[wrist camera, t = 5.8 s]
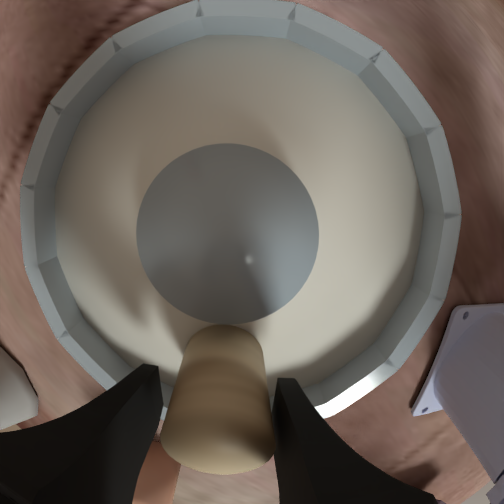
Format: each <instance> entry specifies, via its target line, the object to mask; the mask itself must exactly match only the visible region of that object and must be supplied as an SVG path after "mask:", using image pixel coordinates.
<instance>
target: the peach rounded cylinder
mask: <svg viewBox="0 0 504 504" xmlns="http://www.w3.org/2000/svg"><path fill="white" fill-rule="evenodd" d="M180 466H181V464H180V463H179V462H177V461H175V460H174V459H173V458H172V457H170V456H169V455H168V454H167V452H166V451H165V450H164V448H163V447H162V444H161V443H160V442H157V441H152V443H151V445H150V448H149V450H148V453H147V455H146V458H145V460H144V463H143V465H142V468H141V470H140V473H139V476H138V480H137V484H136V488H135V493H134V497H133V502H132V504H172V502H173V497H174V493H175V488H176V484H177V479H178V475H179V471H180Z"/></svg>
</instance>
